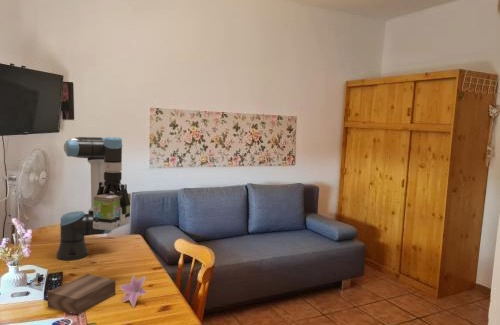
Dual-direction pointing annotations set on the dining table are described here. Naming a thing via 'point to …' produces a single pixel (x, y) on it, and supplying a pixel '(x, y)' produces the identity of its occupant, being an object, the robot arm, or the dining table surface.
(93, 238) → the dining table surface
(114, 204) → the tea box
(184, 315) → the dining table surface
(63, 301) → the walnut block
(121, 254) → the dining table surface
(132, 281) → the lily
